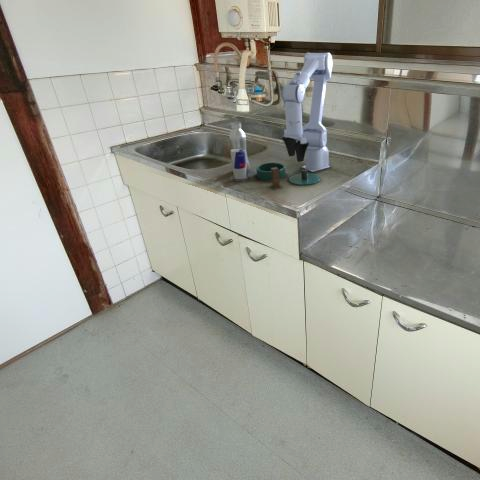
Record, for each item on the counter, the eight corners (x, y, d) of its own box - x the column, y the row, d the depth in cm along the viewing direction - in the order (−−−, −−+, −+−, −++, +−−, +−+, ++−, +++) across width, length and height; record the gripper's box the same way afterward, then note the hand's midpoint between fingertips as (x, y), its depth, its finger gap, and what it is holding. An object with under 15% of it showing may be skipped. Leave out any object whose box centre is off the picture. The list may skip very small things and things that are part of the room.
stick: (272, 187, 136) (270, 168, 132) (277, 186, 137) (276, 167, 133) (274, 189, 134) (272, 169, 130) (280, 187, 135) (278, 168, 131)
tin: (275, 169, 153) (274, 160, 150) (290, 176, 145) (290, 167, 143) (252, 176, 146) (251, 166, 144) (267, 183, 139) (266, 174, 137)
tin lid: (307, 173, 148) (307, 162, 146) (326, 181, 140) (326, 170, 138) (283, 180, 142) (282, 169, 139) (301, 189, 133) (301, 178, 131)
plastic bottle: (253, 171, 151) (248, 122, 141) (240, 175, 147) (233, 125, 137) (244, 168, 155) (238, 120, 145) (231, 172, 151) (224, 123, 141)
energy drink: (246, 182, 141) (242, 152, 135) (233, 182, 141) (228, 152, 135) (249, 177, 145) (245, 147, 139) (236, 177, 146) (231, 148, 139)
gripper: (275, 118, 131) (278, 155, 138) (292, 126, 121) (294, 165, 127) (293, 116, 134) (295, 152, 141) (311, 123, 123) (312, 162, 130)
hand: (296, 158), depth 135 cm, fingers open, 7 cm apart
